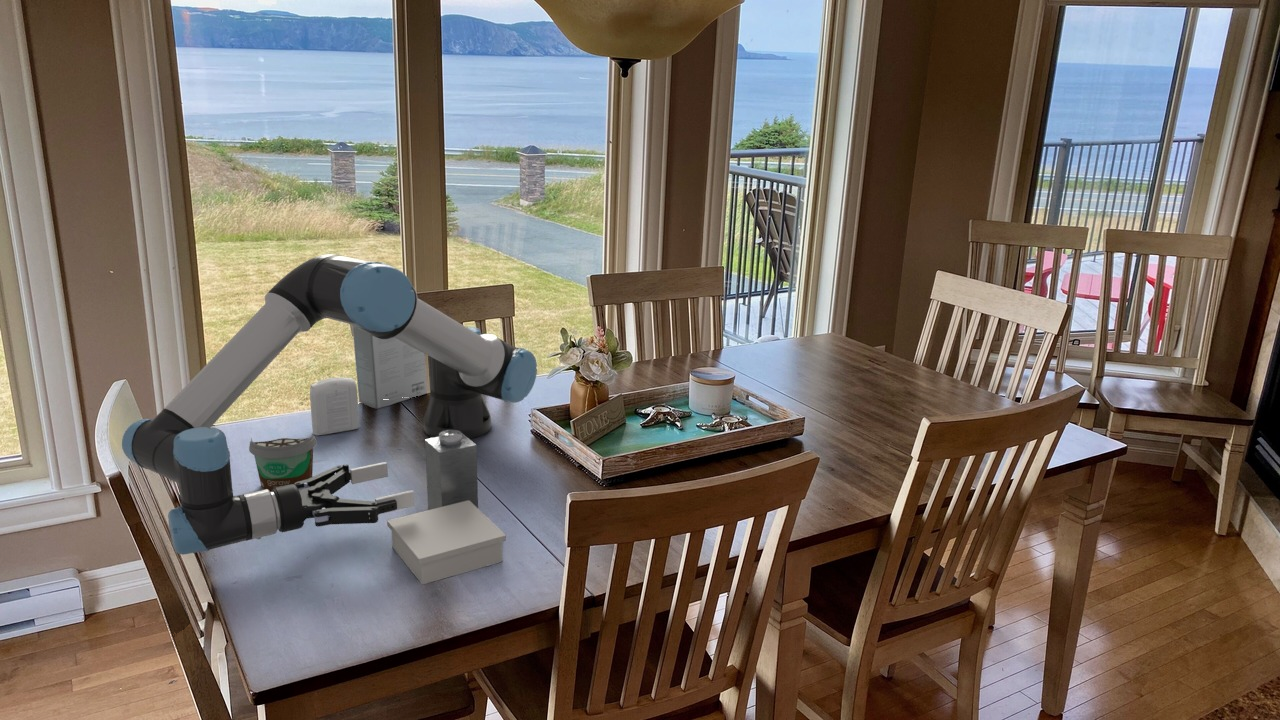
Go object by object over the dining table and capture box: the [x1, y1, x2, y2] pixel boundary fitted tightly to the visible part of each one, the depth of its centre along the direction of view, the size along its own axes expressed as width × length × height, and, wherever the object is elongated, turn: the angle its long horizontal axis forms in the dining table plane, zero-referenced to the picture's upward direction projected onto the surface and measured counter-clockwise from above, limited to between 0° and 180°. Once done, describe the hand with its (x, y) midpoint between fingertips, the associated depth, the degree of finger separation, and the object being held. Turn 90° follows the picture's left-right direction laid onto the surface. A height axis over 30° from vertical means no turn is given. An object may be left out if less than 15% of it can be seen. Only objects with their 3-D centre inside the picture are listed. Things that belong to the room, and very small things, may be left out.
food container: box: [248, 433, 318, 492], centre depth 175 cm, size 12×6×10 cm, turn 105°
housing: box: [424, 430, 479, 510], centre depth 167 cm, size 7×7×16 cm
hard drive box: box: [351, 325, 428, 410], centre depth 223 cm, size 16×8×20 cm, turn 141°
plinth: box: [386, 500, 507, 585], centre depth 154 cm, size 15×15×5 cm
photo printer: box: [309, 376, 360, 436], centre depth 204 cm, size 10×4×12 cm, turn 123°
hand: (400, 483), depth 162 cm, fingers open, 13 cm apart
